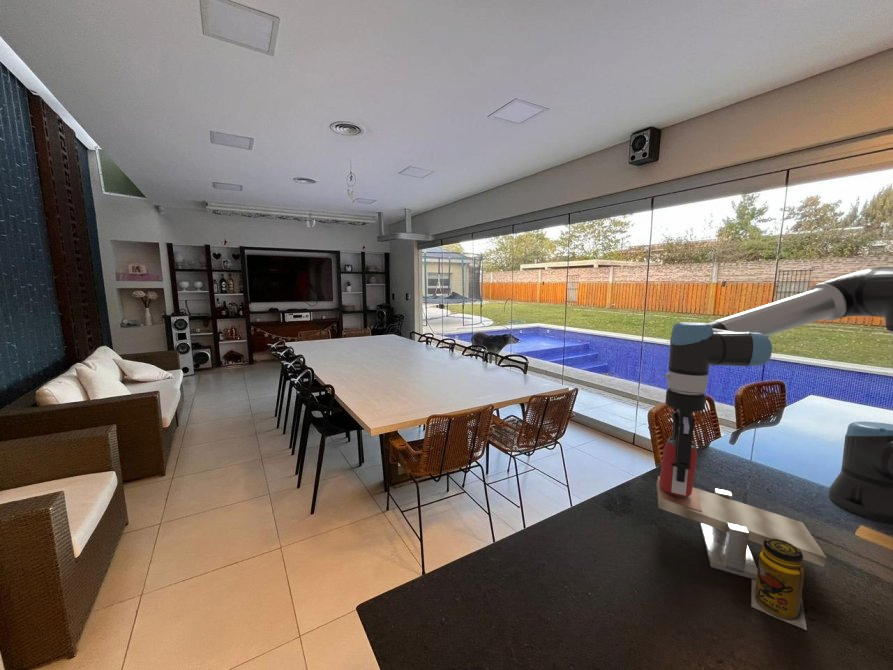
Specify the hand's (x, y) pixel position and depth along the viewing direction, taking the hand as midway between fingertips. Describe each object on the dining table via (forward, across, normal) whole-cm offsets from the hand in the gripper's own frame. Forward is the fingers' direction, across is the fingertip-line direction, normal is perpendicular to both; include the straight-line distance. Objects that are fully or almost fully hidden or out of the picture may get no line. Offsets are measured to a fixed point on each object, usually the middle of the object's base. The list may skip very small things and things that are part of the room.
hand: (677, 485), depth 85 cm
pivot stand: (+12, 0, +10) cm, 16 cm away
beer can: (+2, 0, 0) cm, 2 cm away
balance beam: (+4, 0, +10) cm, 11 cm away
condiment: (+13, +14, +16) cm, 24 cm away
